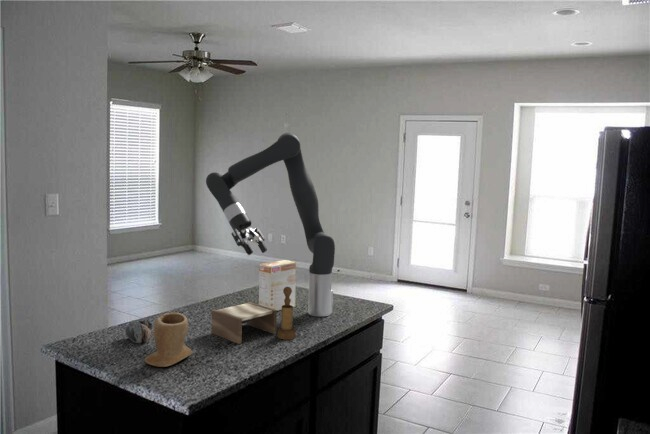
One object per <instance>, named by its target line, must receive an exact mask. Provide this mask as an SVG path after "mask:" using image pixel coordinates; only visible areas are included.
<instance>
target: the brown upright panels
mask: <svg viewBox="0 0 650 434" xmlns="http://www.w3.org/2000/svg"><path fill="white" fill-rule="evenodd" d="M246 303H249V304H252V305H255V306H259V307H262V308H265V309H269V310H272V314H268V315H264V316H260V317H256V318H252V321H250V322H246V323H245V325H248V326H250V327H254V328H257V329H259V330H261V331H265V332H268V333H271V334H277V318H278V317H277V316H278V315H277V313H278V312H277V310H275V309H271V308H268V307H265V306H261V305H259V303H254V302H252V301H251V302H250V301H248V302H246ZM217 310H218V309H211V334H212V335H215V336H217V337H220V338H222V339H226V340H228V341H231V342H233V343H235V344H238V345H240V344H242V343H243V340H242V337H243V335H242V333H243V329H242V328H243V324H242V319H241V318H238V317H235V316H232V315H229V314H226V313H223V312H220V311H217Z"/></svg>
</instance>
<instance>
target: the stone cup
mask: <svg viewBox="0 0 650 434" xmlns="http://www.w3.org/2000/svg"><path fill="white" fill-rule="evenodd" d="M153 328H154V329H153V338H154V339H153V340H154V341H155V346H156V351H155V352H152V353H151V354H149V355H148V356H146V357H145V359H144V362H145V363H146V364H147V365H151V366H154V367H160V368H165V367H169V366H173V365H175V364H177V363H180V361H182V360H184V359H186V358H187V357H189V356H191V355H193V351H192V349H191V348H190V346H189V347H188V346H187V345H186V344H185V343H184V342H185V340H186V337H187V334H188V329H189V320H188V318H187V316H186V315H185V314H183V313H180V312H174V311H173V312H167V313H163V314H161V315H160V316H159V317H157V318H156V320H155V322H154V326H153Z"/></svg>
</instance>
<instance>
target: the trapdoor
mask: <svg viewBox="0 0 650 434" xmlns="http://www.w3.org/2000/svg"><path fill="white" fill-rule="evenodd" d="M216 310H217V311H220V312H223V313H226V314H229V315H232V316H235V317H238V318H241V319H242V325H243V324H246V322H250V321H252V318H256V317H260V316H264V315H268V314H272V310H269V309H265V308H262V307H259V306H255V305H252V304H249V303H247V302H246V303H243V304H238V305H233V306H232V305H231V306H228V307H224V308H220V309H216Z"/></svg>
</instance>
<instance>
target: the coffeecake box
mask: <svg viewBox="0 0 650 434" xmlns="http://www.w3.org/2000/svg"><path fill="white" fill-rule="evenodd" d="M296 263H297V262H296V261H293V260H292V261H291V260H288V259H282V260H277V261H270V262H264V263H260V264H259V266H258V268H259V269H258V271H259V273H258V305H261V306H265V307H268V308H271V309H275V310H277V311H282V306H283V305H285V302H284V299H285V295H284V293H283V290H284V288H285V287H290V288H291V289H292V293H291V295H290V297H289V298H290V300H291V301H290V305H292V306H293V308H294V307H296V281H297V280H296V279H297V278H296V275H297V274H296V273H297V272H296V271H297V270H296V269H297V268H296V267H297V265H296Z"/></svg>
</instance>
